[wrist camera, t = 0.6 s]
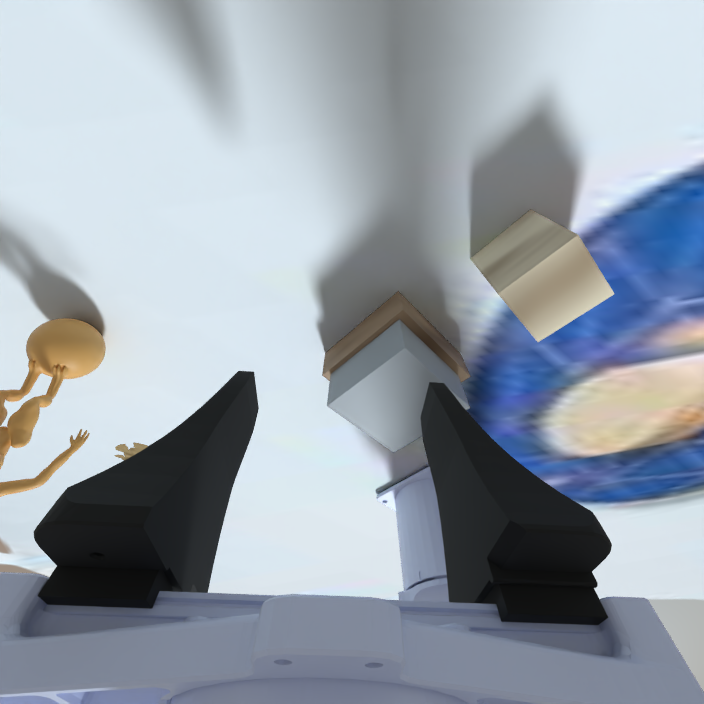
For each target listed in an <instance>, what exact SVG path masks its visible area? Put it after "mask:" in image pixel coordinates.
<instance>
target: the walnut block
mask: <svg viewBox="0 0 704 704" xmlns="http://www.w3.org/2000/svg"><path fill="white" fill-rule="evenodd" d="M399 319H400V320H401V321H402V322H403V323H404V324H405V325H406V326H407V327H408V328H409V329H410V330H411V331H412V332H413V333H414V334H415V335H416V336H417V337H419V338H420V339H421V340H422V341H423V342H424V343H425V344H426V345H427V346H428V347H429V348H430V349H431V350H432V351H433V352H434V353H435V354H436V355H437V356H438V357H439V358H440V359H442V360H443V361H444V362H445V363H446V364H447V365H448V366H449V367H450V368H451V369H452V370H453V371H454V372H455V373H456V374H457V375H458V376H459V379H460V381H461V382H463V381H464V380H466V379H468V378H469V377H471V376H470V374H469V372H468V369H467V367H466V365H465V362H464V360H463V358H462V356H461V354H460V353H459V352H458V351H457V350H456V349H455V348H454V347H453V346H452V345H451V344H450V343H449V342H448V341H447V340H446V339H445V338H444V337H443V336H442V335H441V334H440V333H439V332H438V331H437V330H436V329H435V328H434V327H433V326H432V325H431V324H430V323H429V322H428V321H427V320H426V319H425V318H424V317H423V316H422V315H421V314H420V313H419V312H418V311H417V310H416V309H415V308H414V307H413V306H412V304H411V303H410V302H409V301H408V300H407V299H406V298H405V297H404V296H403V295H402V294H401V293H400V292H399V291H398V292H397V293H396V294H394V295H393V296H392V297H391V298H390V299H389V300H387V301H386V302H385V303H384V304H383V305H381V306H380V307H379V308H378V309H377V310H376V311H374V312H373V313H372V314H371V315H370V316H369V317H367V318H366V319H365V320H364V321H363V322H361V323H360V324H359V325H358V326H357V327H356V328H354V329H353V330H352V331H351V332H350V333H349V334H347V335H346V336H345V337H344V338H343V339H341V340H340V341H339V342H338V343H337V344H336V345H334V346H333V347H332V348H331V349H330V350H328V351H327V352H326V353H325V359H324V366H323V374H322V376H324V377H325V378H326V379H328V380H329V381H330V375H331V373H333V372H334V371H335V370H336V369H338V368H339V367H340V366H341V365H343V364H344V363H345V362H346V361H348V360H349V359H350V358H351V357H353V356H354V355H355V354H356V353H358V352H359V351H360V350H361V349H363V348H364V347H365V346H366V345H368V344H369V343H370V342H371V341H373V340H374V339H375V338H376V337H378V336H379V335H380V334H381V333H383V332H384V331H385V330H386V329H388V328H389V327H390V326H392V325H393V324H394V323H395V322H397V321H398V320H399Z"/></svg>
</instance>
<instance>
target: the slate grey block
mask: <svg viewBox="0 0 704 704" xmlns="http://www.w3.org/2000/svg"><path fill="white" fill-rule="evenodd" d="M429 382H437V383H445V385H446V386H447V387H448V388H449V390H450V391H451V392H452V393H453V395H454V396H455V397H456V399H457V400H458V401H459V402H460V404H461V405H462V406H463V407H464V408H465V410H467V409H469V408H470V405H469V403H468V400H467V397H466V395H465V392H464V389H463V387H462V384H461V381H460V379H459V376H458V375H457V374H456V373H455V372H454V371H453V370H452V369H451V368H450V367H449V366H448V365H447V364H446V363H445V362H444V361H443V360H442V359H440V358H439V357H438V356H437V355H436V354H435V353H434V352H433V351H432V350H431V349H430V348H429V347H428V346H427V345H426V344H425V343H424V342H423V341H422V340H421V339H420V338H419V337H417V336H416V335H415V334H414V333H413V332H412V331H411V330H410V329H409V328H408V327H407V326H406V325H405V324H404V323H403V322H402V321H401V320H400V319H399V320H398V321H397V322H395V323H394V324H393V325H392V326H390V327H389V328H388V329H386V330H385V331H384V332H383V333H381V334H380V335H379V336H378V337H376V338H375V339H374V340H373V341H371V342H370V343H369V344H368V345H366V346H365V347H364V348H363V349H361V350H360V351H359V352H358V353H356V354H355V355H354V356H353V357H351V358H350V359H349V360H348V361H346V362H345V363H344V364H343V365H341V366H340V367H339V368H338V369H336V370H335V371H334V372H333V373H331V375H330V384H329V393H328V402H327V406H328V407H329V408H331V409H332V410H333V411H335V412H336V413H338V414H339V415H341V416H342V417H343V418H345V419H346V420H348V421H349V422H350V423H352V424H353V425H355V426H356V427H357V428H359V429H360V430H362V431H363V432H365V433H366V434H367V435H369V436H370V437H372V438H373V439H374V440H376V441H377V442H379V443H380V444H382V445H383V446H384V447H386V448H387V449H389V450H390V451H391V452H393V453H394V452H396V451H398V450H399V449H401V448H403V447H404V446H406V445H408V444H410V443H411V442H413V441H415V440H416V439H418V438H420V437H421V436H422V428H421V419H420V417H421V413H422V409H423V405H424V401H425V397H426V393H427V390H428V386H429Z"/></svg>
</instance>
